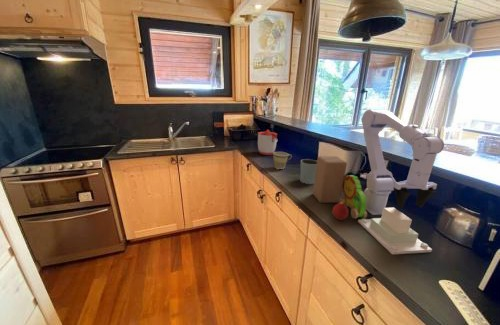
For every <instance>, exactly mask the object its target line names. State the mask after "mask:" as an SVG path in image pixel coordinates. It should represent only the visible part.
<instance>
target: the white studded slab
mask: <svg viewBox="0 0 500 325" xmlns="http://www.w3.org/2000/svg"><path fill="white" fill-rule="evenodd" d="M357 223H359V225H360V226H362V227H363V228H364V229H365V230H366V231H367V232H368V233H369V234H370V235H371V236H372V237H374V239H375V240H376V241H378V242H379V243H380V245H382V246H383V247H384V248H385V249H386V250H387V251H388V252H389V253H390V254H391V255H404V254H405V255H406V254H420V253H421V254H423V253H432V252H433V248H431V247H430V246H429V244H427V243H425V242H423V241H421V240H420V239H419V238H418V237H419V233H418V232H416V231H415V230H414V229H412V228H411V227H410V228H409V231H408V233H397V232H395V231H394V230H393V229H392V228H390V227H389V226H388V225H387V224H385V223H384V222H383V221H382V220H381V217H373V218H369V219H368V218H361V219H358V220H357Z"/></svg>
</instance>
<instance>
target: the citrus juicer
mask: <svg viewBox="0 0 500 325" xmlns="http://www.w3.org/2000/svg"><path fill="white" fill-rule="evenodd" d="M277 142H278V133H276V132H274V131H272V132H271V131H270V129H266V130H264V131H259V132H257V150H258V153H259V154H260V155H263V156H271V155H272V156H273V153H274V152H276V148H277Z"/></svg>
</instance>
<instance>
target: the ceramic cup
mask: <svg viewBox="0 0 500 325" xmlns="http://www.w3.org/2000/svg"><path fill="white" fill-rule="evenodd" d="M272 157H273V166H274V168H276V170H279V169H283V170H285V169H284V168H286V165H287V162H289V160H291V159H292V157H293V156H292V154H290V153H287V152H284V151H274V153H273V154H272Z"/></svg>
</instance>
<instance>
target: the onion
mask: <svg viewBox="0 0 500 325" xmlns="http://www.w3.org/2000/svg"><path fill="white" fill-rule="evenodd" d="M332 214H333V216H334V217H335V218H336V220H338V221H341V220H342V221H343V220H345V219H346V218H348V216H349V208H348V206H346V205H345V204H344V203H343V202H340V203H339V202H338V203H335V205H334V206H333V207H332Z"/></svg>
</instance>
